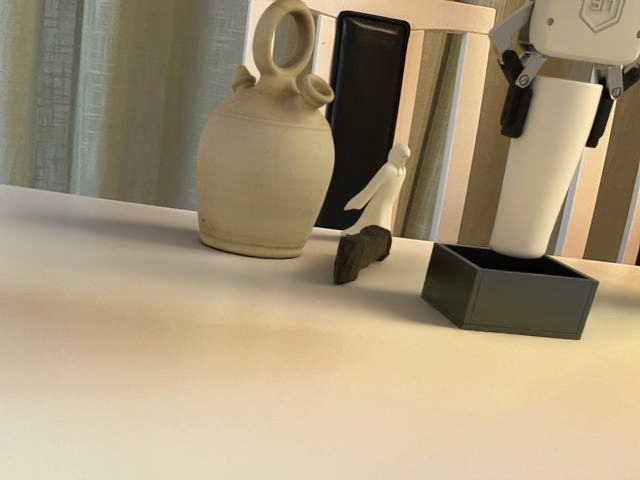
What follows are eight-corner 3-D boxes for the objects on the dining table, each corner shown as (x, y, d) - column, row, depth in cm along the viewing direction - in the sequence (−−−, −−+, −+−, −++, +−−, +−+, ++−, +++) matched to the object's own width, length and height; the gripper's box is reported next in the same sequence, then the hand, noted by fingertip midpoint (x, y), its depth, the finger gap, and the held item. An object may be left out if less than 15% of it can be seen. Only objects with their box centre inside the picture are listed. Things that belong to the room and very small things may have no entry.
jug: (339, 265, 115) (391, 9, 102) (216, 259, 110) (254, -12, 96) (281, 236, 127) (321, 3, 114) (167, 229, 121) (195, -16, 108)
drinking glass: (523, 247, 102) (572, 80, 94) (565, 263, 97) (620, 87, 89) (466, 244, 100) (512, 72, 92) (506, 260, 94) (558, 79, 86)
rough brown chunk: (355, 256, 121) (364, 215, 118) (388, 262, 120) (397, 221, 117) (309, 282, 106) (318, 235, 103) (346, 289, 105) (355, 242, 102)
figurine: (369, 250, 125) (392, 144, 119) (321, 236, 130) (341, 133, 124) (405, 247, 130) (429, 145, 124) (358, 234, 135) (378, 135, 128)
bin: (528, 307, 107) (544, 253, 104) (580, 339, 97) (600, 281, 94) (420, 296, 106) (433, 241, 103) (461, 329, 95) (478, 269, 92)
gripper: (537, -116, 79) (474, 135, 88) (736, -83, 82) (654, 157, 91) (500, -108, 85) (445, 126, 95) (686, -77, 88) (614, 147, 97)
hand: (548, 139), depth 93 cm, fingers closed on drinking glass, 6 cm apart
